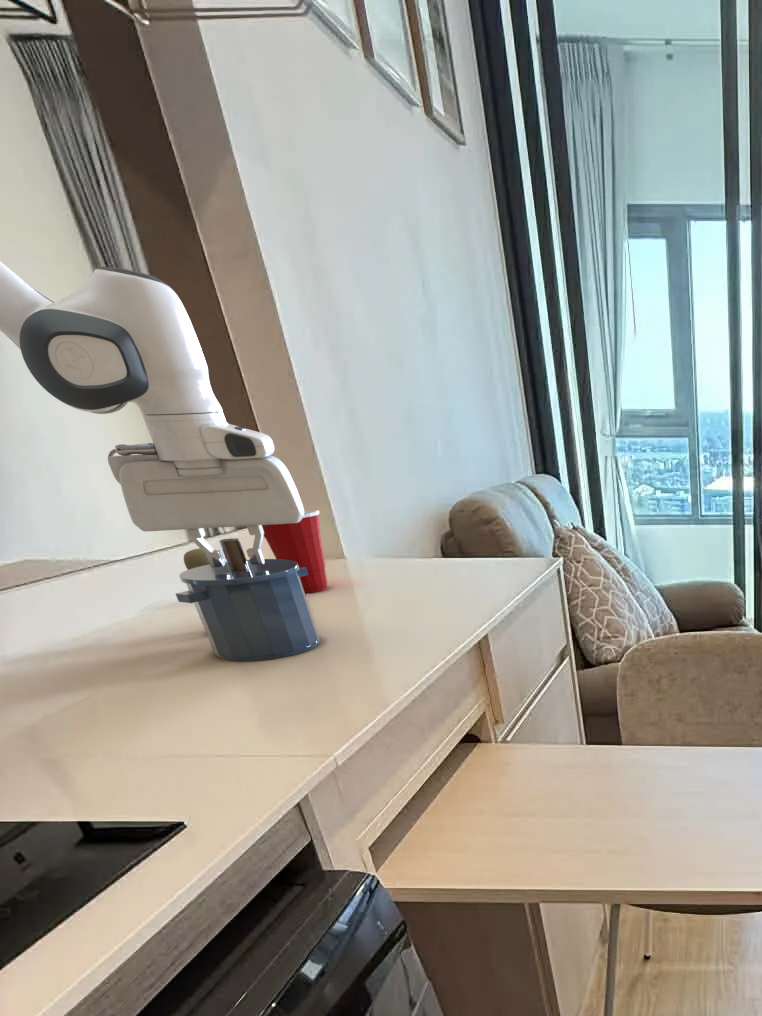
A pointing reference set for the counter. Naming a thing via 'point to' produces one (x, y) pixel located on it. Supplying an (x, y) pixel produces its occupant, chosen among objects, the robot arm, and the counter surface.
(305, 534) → the plastic cup
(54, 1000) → the counter surface
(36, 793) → the counter surface
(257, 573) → the lid
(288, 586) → the pot
